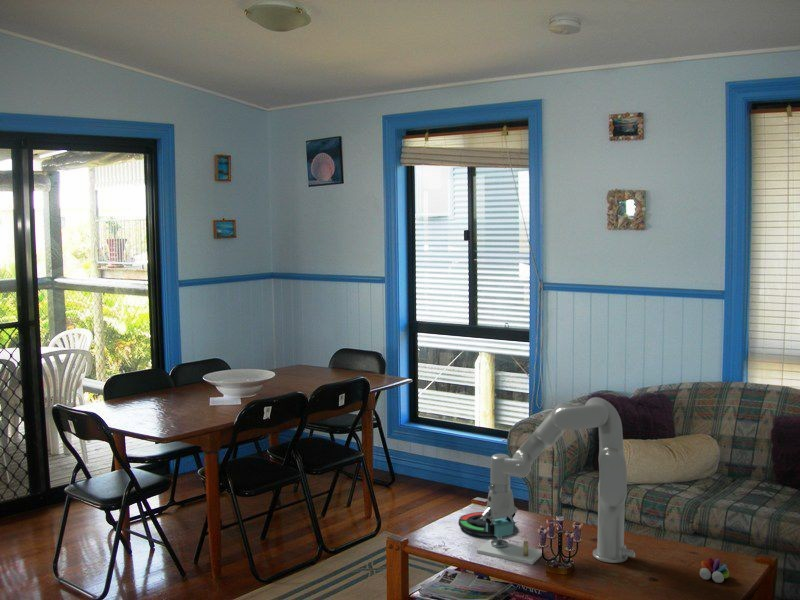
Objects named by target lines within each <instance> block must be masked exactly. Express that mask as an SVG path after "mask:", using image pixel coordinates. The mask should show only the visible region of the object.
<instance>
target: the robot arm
mask: <svg viewBox="0 0 800 600" xmlns="http://www.w3.org/2000/svg"><path fill="white" fill-rule="evenodd" d="M594 428H598V440H599V441H598V444H599V447H598V448H599V451H598V458H597V459H598V472H599V473H598V475H599V478H598V479H599V480H598V485H597V495H598V496H597V499H598V500H597V501H598V502H597V505H598V506H597V507H598V508H597V542H596V543H597V546H596V548H595V549H593V551H592V556H593V558H595V559H597V560H598V561H601V562H604V563H609V564H611V563H612V564H619V563H623V562H626V561H628V558H633V559H634V558H635V557H636V553H635V552H634V549H628V548H627V544H625V513H626V511H625V509H626V508H625V505H626V499H627V493H628V491H627V490H628V489H627V485H628V482H627V481H628V480H627V477H628V475H627V461H626V456H625V453H624V436H623V435H624V434H623V433H624V432H623V424H622V419H621V417H620V415H619V412H618V411H617V409H616V408H615V406H614V405H613V404H612V403H611V402H609V401H608V400H606V399H605V398H602V397H599V396H595V397H590V398H589V399H588V400H587V401H586V402H585V404H584V405H579V406H573V405H572V404H570V403H568V402H565V401H564V402H563V401H562V402H559V403H558V404H557V405H556V406H554V408H552V410H551V411H550V412H549V413H548V414H547V416H546V417H545V418H544V419H543V421H542V422H541V423H540V424H539V425H538V426H537V428H536V429H535V430H534V431H533V432H532V433H531V434H530V435H529V437H528V438H526V440H525V441H524V442H523V443H522V444H521V446H520V447H519V448H518V449H517V450H516V451H515V453H514V454H513V456H512V457H510V456H509V455H508V454H507V453H506V454H504V453H495V454H493V455H491V457H490V479H489V480H490V485H488V490H489V491H488V495H487V500H486V509H485V510H484V511H483V512H484V513H483V514H482V517H483V519H484V520H485V521H486V522H487V523H488V533H489V534H491V535H494V525H493V523H494V521H495V519H500V518H504V517H506V518H507V519H505V520H507V521H509V522H511V523H512V520H514V518H515V516H516V513H518V510H519V509H518V507H516V506H515V502H514V495H513V490H512V489H511V477H514V478H518V479H519V478H520V479H521V478H526V477H527V476H528V475H529V474H530V472H531V469H532V468H531V467H532V464H533V463H534V462H535V460H537V458H538V457H539V456H540V455H541V454H542V453H543V452H544V451H545V450H546V449H549V448H551V447H553V446H554V445H555V444H556V442H557V441H558V440H559V439H560V438H561V437H562V435H563V434H564V433H565V432H566V431H577V430H585V429H594ZM487 515H488V516H489V517H487ZM491 518H492V519H491ZM490 520H491V521H490Z"/></svg>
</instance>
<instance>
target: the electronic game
mask: <svg viewBox="0 0 800 600" xmlns="http://www.w3.org/2000/svg"><path fill="white" fill-rule="evenodd" d="M484 512H485V511H476V512H470V513H466V514H464V515H462V516H460V518H458V526H459V528H461V529H462V530H463V531H465V532H466V533H468V534H470V535H472V536H473V535H474V536H476V537H477V536H478V537H487V538H488V537H495V536H494V535H491V534H489V533H488V532H487V531H486V521H485V520H484V519H483V517H482V514H483V513H484ZM487 517H489V516H488V515H487ZM491 519H492V518H491ZM503 519H507V518H506V517H504V518H503ZM512 523H513V530H514V529H515V527H516V522H515V521H514V519H513V520H512Z"/></svg>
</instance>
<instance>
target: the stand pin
mask: <svg viewBox="0 0 800 600" xmlns="http://www.w3.org/2000/svg"><path fill="white" fill-rule="evenodd" d="M529 543H530V542H529V541H526V540H523V546H524V554H523V556H525V557H527V556H528V548H529V546H530V545H529Z"/></svg>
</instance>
